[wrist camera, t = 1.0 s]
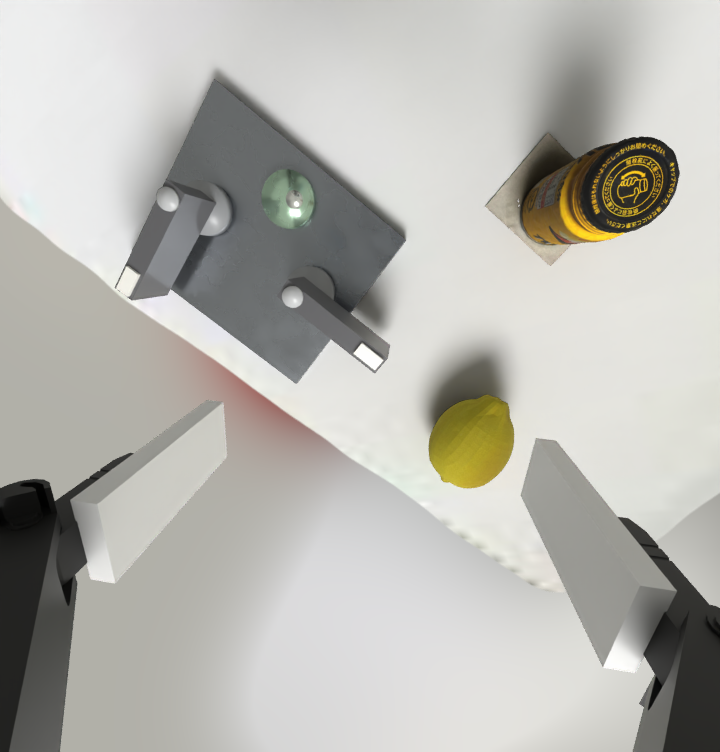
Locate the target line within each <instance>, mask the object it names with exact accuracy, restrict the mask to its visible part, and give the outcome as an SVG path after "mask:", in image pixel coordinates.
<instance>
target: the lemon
mask: <svg viewBox="0 0 720 752" xmlns="http://www.w3.org/2000/svg"><path fill="white" fill-rule="evenodd" d="M513 444H514V429H513V425H512V422H511V419H510V415H509V406H508V404H507V403H506V402H503V401H502V400H501V399H499V398H497V397H493V396H490V395H484V396H482V397H480V398H478V399H468V400H464V401H461V402H458V403H456V404H454V405H453V406H451V407H450V408H449V409H447V410H446V411H445V412H444V413H443V414H442V415H441V416H440V418H439V419H438V421H437V422H436V424H435V426H434V428H433V430H432V432H431V436H430V439H429V457H430V461H431V463H432V465H433V467H434V468H435V470H436V471H437V472H438V473H439V474H440V476H441V480H442V481H443V482H450V483H452V484H454V485H456V486H458V487H462V488H477V487H480V486H483V485H485V484H486V483H488V482H490V481H491V480H492V479H493V478H495V477H496V476H497V475H498V474H499V473H500V472H501V471H502V470H503V468H504V467H505V465H506V464H507V462H508V460H509V458H510V456H511V453H512V449H513Z"/></svg>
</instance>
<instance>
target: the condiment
mask: <svg viewBox="0 0 720 752" xmlns="http://www.w3.org/2000/svg"><path fill="white" fill-rule="evenodd" d="M679 174H680V172H679V168H678V163H677V159H676V155H675V153H674V151H673V150H672V149H671V148H669V147H668V146H667V145H666V144H665V143H664V142H662V141H660V140H658V139H655V138H652V137H639V138H636V137H632V138H629V139H624V140H622V141H620V142H618V143H612V144H607V145H603V146H600V147H598V148H595V149H593V150H591V151H589V152H587V153H586V154H584V155H582V156H581V157H579V158H577V159H574V158H573V157H572V156H571V155H570V154H569V153H568V152H567V151H566V150H565V149H564V148H563V147H562V146H561V145H560V144H559V143H558V142H557V140H556V139H554V138H553V137H552V136H551V135H550V134H549V133H547V134H546V135H545V136H544V138H543V139H542V140H541V141H540V142H539V143H538V145H537V146H536V147H535V148H534V149H533V151H532V152H531V153H530V154H529V155H528V157H527V158H526V159H525V160H524V161H523V162H522V164H521V165H520V166H519V167H518V168H517V169H516V171H515V172H514V173H513V174H512V175H511V176H510V178H509V179H508V180H507V181H506V183H505V184H504V185H503V186H502V187H501V188H500V190H499V191H498V192H497V193H496V194H495V196H494V197H493V198H492V199H491V200H490V202H489V203H488V204H487V205H486V206H485V207H486V208H488V209H489V210H490V211H491V212H492V213H493V214H494V215H495V216H496V217H497V218H498V219H500V220H501V221H502V222H503V223H504V224H505V225H506V226H507V227H508V228H510V229H511V230H512V231H513V232H514V233H515V234H516V235H517V236H518V237H519V238H520V239H521V240H522V241H523V242H524V243H525V244H527V245H528V246H529V247H530V248H531V249H532V250H533V251H534V252H535V253H536V254H537V255H539V256H540V257H541V258H542V259H543V260H544V261H545V262H546V263H547V264H549V265H550V266H551V265H552V264H553V263H554V262H555V261H556V260H557V259H558V258H559V257H560V256H561V255H562V254H563V253H564V252H565V251H566V249H567V248H568V247H569V246H570V245H571V244H577V243H585V242H599V241H604V240H609V239H612V238H615V237H617V236H620V235H622V234H623V233H627V232H630V231H635V230H637V229H639V228H641V227H643V226H645V225H648V224H649V223H650V222H652V221H653V220H654V219H655V218H656V217H657V216H659V215H660V214H661V213H662V212H663V211H664V210H665V209H666V207H667V206H668V205H669V203H670V200H671V199H672V197H673V196H674V194H675V191H676V187H677V184H678V178H679ZM518 199H519V203H518V202H517V200H518ZM519 204H520V207H518V205H519Z"/></svg>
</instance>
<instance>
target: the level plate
mask: <svg viewBox="0 0 720 752" xmlns="http://www.w3.org/2000/svg"><path fill="white" fill-rule="evenodd" d="M167 179H168V180H171V181H174V182H177V183H180V184H183V185H187V184H188V183H190V182H192V181H194V180H205V181H208V182H211V183H213V184H215V185H217V186H219V187H220V188H222V189H223V190H224V191H225V192H226V194H227V195H228V197H229V199H230V201H231V204H232V209H233V216H232V221H231V224H230V226H229V227H228V229H227V230H226V231H225V232H224V233H222V234H220V235H217V236H206V235H199V237H198V239H197V241H196V242H195V244H194V246H193V248H192V250H191V252H190V254H189V255H188V257H187V259H186V261H185V263H184V265H183V267H182V268H181V270H180V272H179V274H178V276H177V278H176V280H175V281H174V283H173V285H172V287H171V290H173V291H174V292H175V293H177V294H178V295H179V296H181V297H182V298H183V299H185V300H186V301H187V302H189V303H190V304H191V305H193V306H194V307H195V308H197V309H198V310H199V311H200V312H202V313H203V314H204V315H206V316H207V317H208V318H210V319H211V320H212V321H214V322H215V323H216V324H218V325H219V326H220V327H222V328H223V329H224V330H226V331H227V332H228V333H230V334H231V335H232V336H234V337H235V338H236V339H238V340H239V341H240V342H241V343H243V344H244V345H245V346H247V347H248V348H249V349H251V350H252V351H253V352H255V353H256V354H257V355H259V356H260V357H261V358H263V359H264V360H265V361H267V362H268V363H269V364H271V365H272V366H273V367H275V368H276V369H277V370H278V371H280V372H281V373H282V374H284V375H285V376H286V377H288V378H289V379H290V380H292V381H293V382H294V383H296V384H297V383H298V382H299V380H300V379H301V378H302V376H303V375H304V374H305V373H306V371H307V370H308V369H309V367H310V366H311V365H312V363H313V362H314V361H315V359H316V358H317V357H318V355H319V354H320V353H321V352H322V350H323V349H324V348H325V346H326V345H327V344H328V342H329V341H330V340H331V339H330V338H329V337H328V336H326V335H325V334H324V333H323V332H321V331H320V330H319V329H317V328H316V327H315V326H314V325H312V324H311V323H310V322H308V321H307V320H306V319H305V318H303V317H302V316H301V315H300V314H298V313H297V312H296V311H294V310H293V309H292V308H290V307H288V306H286V305H285V304H284V302H283V301H282V300H280V299H279V298H278V297H277V295H278V293H279V292H280V290H281V289H282V287H283V286H284V284H285V283H286V281H287V279H288V277H289V276H290V274H291V273H292V272H293V271H295V270H296V269H298V268H300V267H305V266H315V267H318V268H321V269H323V270H324V271H325V272H326V273H328V275H329V276H330V277H331V279H332V281H333V283H334V287H335V296H334V301H335V302H336V303H338V304H339V305H340V306H341V307H343V308H344V309H345V310H347V311H348V312H349V313H350V314H351V312H352V311H353V310H354V308H355V307H356V306H357V304H358V303H359V302H360V300H361V299H362V298H363V296H364V295H365V294H366V293H367V291H368V290H369V289H370V287H371V286H372V285H373V283H374V282H375V281H376V279H377V278H378V277H379V275H380V274H381V273H382V272H383V270H384V269H385V268H386V266H387V265H388V264H389V262H390V261H391V260H392V258H393V257H394V256H395V254H396V253H397V252H398V251H399V249H400V248H401V247H402V245H403V244H404V243H405V241H406V240H405V239H404V238H403V237H402V236H401V235H400V234H398V233H397V232H396V231H395V230H394V229H392V228H391V227H390V226H389V225H388V224H386V223H385V222H384V221H383V220H382V219H381V218H379V217H378V216H377V215H376V214H375V213H373V212H372V211H371V210H370V209H369V208H367V207H366V206H365V205H364V204H363V203H361V202H360V201H359V200H358V199H357V198H356V197H354V196H353V195H352V194H351V193H350V192H348V191H347V190H346V189H345V188H344V187H342V186H341V185H340V184H339V183H338V182H337V181H335V180H334V179H333V178H332V177H331V176H329V175H328V174H327V173H326V172H325V171H323V170H322V169H321V168H320V167H319V166H318V165H316V164H315V163H314V162H313V161H312V160H310V159H309V158H308V157H307V156H306V155H304V154H303V153H302V152H301V151H300V150H299V149H297V148H296V147H295V146H294V145H293V144H291V143H290V142H289V141H288V140H287V139H285V138H284V137H283V136H282V135H281V134H279V133H278V132H277V131H276V130H275V129H274V128H272V127H271V126H270V125H269V124H268V123H266V122H265V121H264V120H263V119H262V118H260V117H259V116H258V115H257V114H256V113H255V112H253V111H252V110H251V109H250V108H249V107H247V106H246V105H245V104H244V103H243V102H241V101H240V100H239V99H238V98H237V97H236V96H234V95H233V94H232V93H231V92H230V91H228V90H227V89H226V88H225V87H224V86H222V85H221V84H220V83H219V82H218V81H217V80H215V79H214V81H213V83H212V85H211V87H210V89H209V91H208V93H207V96H206V98H205V100H204V102H203V104H202V106H201V108H200V110H199V112H198V115H197V117H196V119H195V121H194V123H193V125H192V127H191V129H190V131H189V134H188V136H187V138H186V140H185V142H184V144H183V146H182V148H181V150H180V153H179V155H178V157H177V159H176V161H175V163H174V165H173V167H172V169H171V172H170V174H169V176H168V178H167Z"/></svg>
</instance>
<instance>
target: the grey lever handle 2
mask: <svg viewBox="0 0 720 752" xmlns="http://www.w3.org/2000/svg"><path fill="white" fill-rule="evenodd" d="M334 296H335V287H334V283H333V281H332V279H331V277H330V276H329V275H328V273H326V272H325V271H324V270H323V269H321V268H318V267H315V266H305V267H300V268H298V269H296V270H295V271H293V272H292V273H291V274H290V276H289V277H288V279H287V281H286V283H285V284H284V286H283V287H282V289H281V290H280V292H279V293H278V295H277V297H278V298H279V299H280V300H282V301H283V302H284V304H285V305H286V306H288V307H290V308H292V309H293V310H294V311H296V312H297V313H298V314H300V315H301V316H302V317H303V318H305V319H306V320H307V321H308V322H310V323H311V324H312V325H314V326H315V327H316V328H317V329H319V330H320V331H321V332H323V333H324V334H325V335H326V336H328V337H329V338H330V339H332V340H333V341H334V342H335V343H337V344H338V345H339V346H340V347H342V348H343V349H344V350H346V351H347V352H348V353H349V354H351V355H352V356H353V357H355V358H356V359H357V360H358V361H360V362H361V363H362V364H363V365H365V366H366V367H367V368H369V369H370V370H371V371H372V372H374V373H376V371H377V370H378V369H379V368H380V367H381V366H382V364H383V363H384V362H385V361H386V360H387V359H388V354H389V348H390V345H389V344H388V343H387V342H385V341H384V340H383V339H382V338H380V337H379V336H378V335H377V334H375V333H374V332H373V331H372V330H370V329H369V328H368V327H367V326H365V325H364V324H363V323H362V322H360V321H359V320H358V319H357V318H355V317H354V316H353V315H352V314H350V313H349V312H348V311H347V310H345V309H344V308H343V307H341V306H340V305H339V304H338V303H336V302H335V301H334Z"/></svg>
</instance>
